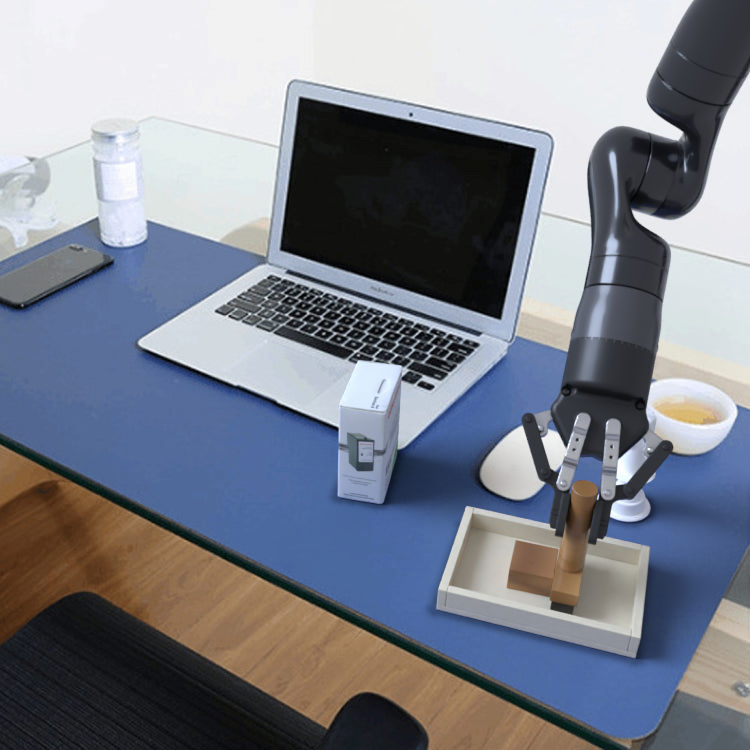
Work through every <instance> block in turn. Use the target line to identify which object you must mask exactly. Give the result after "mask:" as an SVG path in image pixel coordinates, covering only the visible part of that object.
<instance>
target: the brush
mask: <svg viewBox="0 0 750 750" xmlns="http://www.w3.org/2000/svg"><path fill="white" fill-rule="evenodd" d="M570 494H571V497H570V503H569V508H568V513H567V519H566V524H565V529H564V534H563V538H562V540H561V544H560V549H559V554H558V559H557V564H556V569H555V574H554V579H553V584H552V588H551V594H550V599H549V600H550V601H551V607H550V610H554V611H558V612H562V613H566V614H570V615H573V610H574V606H575V607H576V606H577V603H578V598H579V592H580V587H581V581H582V575H583V569H584V563H585V557H586V552H587V546H588V538H589V533H590V527H591V522H592V518H593V513H594V508H595V503H596V499H597V497H598V495H599V487H598V486H597V484H595V482H592V481H591V480H588V479H587V480H586V479H578V480H576V481H574V482H573V483H572V485H571V489H570Z"/></svg>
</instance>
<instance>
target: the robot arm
mask: <svg viewBox="0 0 750 750" xmlns="http://www.w3.org/2000/svg"><path fill="white" fill-rule="evenodd" d="M749 74H750V0H692V1H691V2H690V4H689V6H688V7H687V8H686V11H685V12H684V14H683V16H682V17H681V19H680V21H679V22H678V24H677V26H676V27H675V30H674V32H673V34H672V36H671V38H670V40H669V42H668V43H667V46H666V48H665V49H664V52H663V54H662V56H661V58H660V60H659V62H658V63H657V66H656V68H655V69H654V72H653V74H652V76H651V78H650V81H649V83H648V85H647V87H646V94H645V98H646V103H647V105H648V106H649V108H650V109H651V110H652V112H653V113H654V114H655V115H657V116H658V117H659V118H661V119H662V120H663V121H665V122H666V123H668V124H669V125H671V126H673V127H675V128H677V129H678V130H679V131H681V132H682V134H681V136H680V137H679V139H677V140H676V139H672V138H669V137H666V136H663V135H659V134H655V133H652V132H650V131H646V130H642V129H640V128H637V127H636V128H635V127H632V126H627V125H617V126H614V127H612V128H610V129H608V130H607V131H605V132H604V133H603V134H602V135H601V136H600V137H598V139H597V140H596V142H595V143H594V145H593V146H592V149H591V151H590V154H589V158H588V163H587V170H586V171H587V172H586V185H587V197H588V205H589V216H590V238H591V239H590V244H591V245H590V254H589V259H588V265H587V270H586V274H585V280H584V285H583V290H582V292H581V293H582V294H581V297H580V300H579V303H578V306H577V308H576V311H575V315H574V320H573V323H572V329H571V332H570V340H569V344H568V348H567V349H568V350H567V354H566V358H565V359H566V360H565V364H564V369H563V375H562V379H561V384H560V389H559V394H558V396H557V397H556V399H555V400H554V401H553V402H552V404H551V406H550V409H547V410H543V411H540V412H537V413H531V412H526V413H524V414H523V415H522V416H521V424H522V428H523V432H524V435H525V439H526V442H527V445H528V449H529V451H530V455H531V458H532V461H533V465H534V468H535V471H536V474H537V475H536V476H537V478H538V480H539V481H540V482H543V483H544V484H546V485H548V486H550V487H551V488H552V489H553V492H554V494H553V498H552V499H553V500H552V505H551V509H550V514H549V518H548V519H549V520H548V522H549V523H548V524H550V528H552V529H556V531H555V536H556V537H561V538H563V534H564V529H565V524H566V519H567V513H568V508H569V503H570V497H571V489H572V485H573V482H574V478H575V475H576V471H577V469H578V465H579V463H580V460H581V458H593V459H594V460H596V461H599V462H601V469H600V482H599V483H600V484H599V492H598V495H599V497H598V496H597V497H598V500H597V499H596V503H595V508H594V513H593V518H592V522H591V527H590V533H589V538H588V544H592V545H596V542H597V539H602V540H603V539H604V537H607V536H606V535H608V529H609V524H610V518H611V517H610V514H611V509H612V505H613V503H614V502H616V501H619V500H632V499H633V498H634V497H635V496H636V495H637V494H638V492H639V491H640V490H641V489H642V490H643V488H644V487H645V485H646V484H648V483H647V481H648V480H649V479H650V478H651V477H652V475H653V474H654V473H655V472H656V473H657V471H658V470H659V468H660V467H661V466H662V465H663V463H664V462H665V461H666V460H667V459H668V458H669V456H670V455H671V454H672V453H673V451H674V444H673V442H672V441H670V440H668V439H663V438H662V437H661V436H659V435H658V434H656V432H655V431H654V432H652V431H651V430H650V429H649V421H648V418H647V414H646V409H647V407H648V402H649V397H650V391H651V386H652V381H653V374H654V369H655V364H656V358H657V354H658V352H659V343H660V338H661V333H662V332H661V331H662V321H663V320H662V318H663V317H662V315H663V306H664V304H663V303H664V299H665V295H666V290H667V289H666V288H667V283H668V278H669V273H670V268H671V262H672V250H671V247H670V244H669V243H668V241H667V240H665V239H664V238H663V237H662V236H660V235H659V234H657V233H655V232H654V231H652V230H650V229H649V228H647V227H645V226H644V225H643V224H641V223H640V222H639V221H638V219H637V218H636V217H635V215H634V213H633V212H636V213H640V214H643V215H646V216H649V217H653V218H655V219H661V220H665V221H676V220H679V219H681V218H683V217H685V216H687V215H688V214H690V213H691V212H692V211H693V209H695V208H696V207H698V206H697V205H699V203H700V201H701V199H702V198H703V195H704V193H705V190H706V186H707V182H708V179H709V178H708V177H709V174H710V169H711V164H712V159H713V156H714V152H715V148H716V145H717V142H718V139H719V135H720V132H721V129H722V126H723V123H724V120H725V119H726V116H727V113H728V112H729V109H730V108H731V106H732V104H733V102H734V101H735V99H736V97H737V95H738V94H739V92H740V91H741V88H742V86H744V83H745V81H746V80H747V78H748V76H749ZM551 423H553V425H554V428H555V429H556V431H557V433H558V435H559V437H560V439H561V442H562V444H563V446H564V447H565V449H566V450H565V454H564V457H563V460H562V464H561V466H560V470H559V472H558V471H556V470H554V469H552V468H551V466H550V463H549V459H548V455H547V452H546V448H545V445H544V442H543V439H542V438H545V437H546V436H548V433H549V424H551ZM641 439H643V440H644V443H645V446H644V448H643V451H642V454H643V456H644V457H645V458H646V461H645V462H644V463H643V464H642V465H641V467H640V468H639V469H638V470H637V471H636V473H635V474H634V475H633V476H632V478H631V479H630V480H629V481H628V482H627V484H621V485H616V481H617V479H616V477H617V467H618V459H620V458H621V457H622V456H623V455H624V454H625V453H627V452H628V451H629V450H630V449H631V448H632V447H633V446H634V445H635V444H637V443H638V442H639V441H640V440H641Z"/></svg>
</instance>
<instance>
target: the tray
mask: <svg viewBox="0 0 750 750" xmlns="http://www.w3.org/2000/svg"><path fill="white" fill-rule="evenodd" d="M555 531H556V529H552V528H550V523H546V522H541V521H537V520H532V519H529V518H523V517H519V516H514V515H510V514H506V513H501V512H498V511H497V512H496V511H493V510H487V509H483V508H479V507H473V506H469V505H466V506H465V508H464V512H463V515H462V518H461V521H460V524H459V526H458V530H457V533H456V536H455V538H454V541H453V544H452V547H451V551H450V554H449V556H448V559H447V563H446V565H445V568H444V571H443V574H442V577H441V579H440V580H441V581H440V582H439V586H438V589H437V599H436V606H435V607H436V608H435V609H436V610H437V611H441V612H444V613H445V612H446V613H450V614H453V615H457V616H462V617H466V618H470V619H473V620H478V621H482V622H487V623H490V624H494V625H499V626H501V627H506V628H509V629H510V628H511V629H514V630H519V631H521V632H522V631H523V632H525V633H526V632H527V633H531V634H535V635H538V636H543V637H546V638H547V637H548V638H551V639H554V640H558V641H562V642H566V643H571V644H575V645H578V646H579V645H580V646H583V647H588V648H591V649H595V650H599V651H603V652H608V653H611V654H616V655H620V656H624V657H628V658H632V659H636V657H637V653H638V650H639V646H640V643H641V639H642V629H643V621H644V611H645V603H646V593H647V592H646V591H647V584H648V583H647V582H648V573H649V565H650V564H649V563H650V555H651V554H650V553H651V546H649V545H644V544H641V543H637V542H631V541H627V540H623V539H618V538H614V537H609V536H605V537H604V539H603V540H602V539H597V542H596V545H592V544H588V546H587V552H586V557H585V563H584V569H583V575H582V581H581V587H580V592H579V598H578V603H577V606H576V607H575V606H574V610H573V615H570V614H566V613H562V612H558V611H554V610H550V607H551V601H550V600H549V599H550V597H546V596H541V595H537V594H532V593H528V592H523V591H518V590H514V589H509V588H507V580H508V574H509V568H510V563H511V559H512V554H513V550H514V545H515V541H516V540H518V541H523V542H528V543H533V544H537V545H542V546H547V547H552V548H557V549H560V544H561V540H562V538H561V537H556V536H555ZM558 554H559V550H558ZM557 559H558V556H557ZM556 564H557V562H556ZM555 569H556V568H555Z"/></svg>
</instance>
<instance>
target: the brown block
mask: <svg viewBox="0 0 750 750" xmlns="http://www.w3.org/2000/svg"><path fill="white" fill-rule="evenodd" d="M558 550H559V549H557V548H552V547H547V546H542V545H537V544H533V543H528V542H523V541H518V540H516V541H515V545H514V550H513V554H512V559H511V563H510V568H509V574H508V580H507V588H509V589H514V590H518V591H523V592H528V593H532V594H537V595H541V596H546V597H550V594H551V588H552V584H553V579H554V574H555V568H556V562H557V556H558Z"/></svg>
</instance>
